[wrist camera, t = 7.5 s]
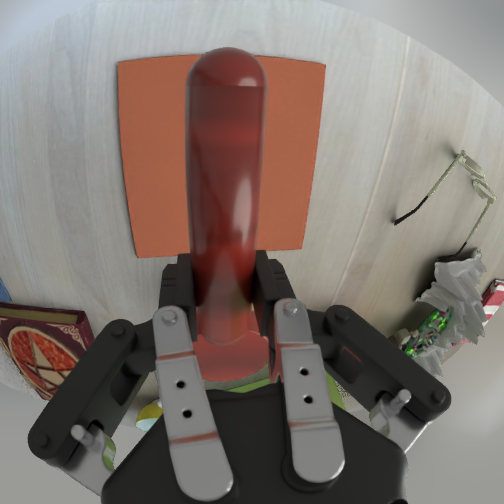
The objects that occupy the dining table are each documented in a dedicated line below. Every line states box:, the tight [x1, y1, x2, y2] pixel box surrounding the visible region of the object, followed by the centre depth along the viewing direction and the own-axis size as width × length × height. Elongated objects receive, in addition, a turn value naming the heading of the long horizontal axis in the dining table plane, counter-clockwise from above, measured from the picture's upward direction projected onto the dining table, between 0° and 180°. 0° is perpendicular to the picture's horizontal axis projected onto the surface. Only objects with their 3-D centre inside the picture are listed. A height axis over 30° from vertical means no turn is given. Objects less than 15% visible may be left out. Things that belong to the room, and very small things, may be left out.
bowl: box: [136, 399, 163, 432], centre depth 51 cm, size 11×12×6 cm
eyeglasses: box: [394, 150, 496, 261], centre depth 34 cm, size 17×15×5 cm
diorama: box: [388, 249, 487, 377], centre depth 51 cm, size 45×29×12 cm, turn 1°
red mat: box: [118, 55, 326, 258], centre depth 27 cm, size 22×20×1 cm
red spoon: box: [185, 47, 269, 381], centre depth 13 cm, size 18×6×3 cm, turn 177°
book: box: [0, 303, 95, 401], centre depth 39 cm, size 28×21×5 cm
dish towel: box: [451, 279, 504, 346], centre depth 60 cm, size 17×23×3 cm
